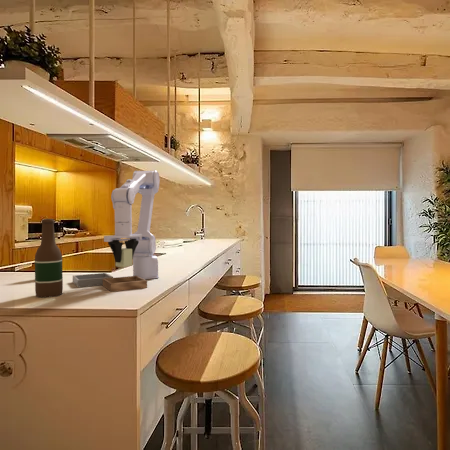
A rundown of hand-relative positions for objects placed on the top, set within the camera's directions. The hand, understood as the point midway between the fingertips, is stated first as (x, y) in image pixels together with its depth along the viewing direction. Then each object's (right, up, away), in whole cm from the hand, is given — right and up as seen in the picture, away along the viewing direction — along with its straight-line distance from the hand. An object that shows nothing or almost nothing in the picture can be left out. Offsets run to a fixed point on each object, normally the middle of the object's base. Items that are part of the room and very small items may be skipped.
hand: (123, 261), depth 129 cm
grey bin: (-14, -9, +8) cm, 18 cm away
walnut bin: (0, -9, 0) cm, 9 cm away
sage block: (0, -2, 0) cm, 2 cm away
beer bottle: (-20, -10, -13) cm, 26 cm away
